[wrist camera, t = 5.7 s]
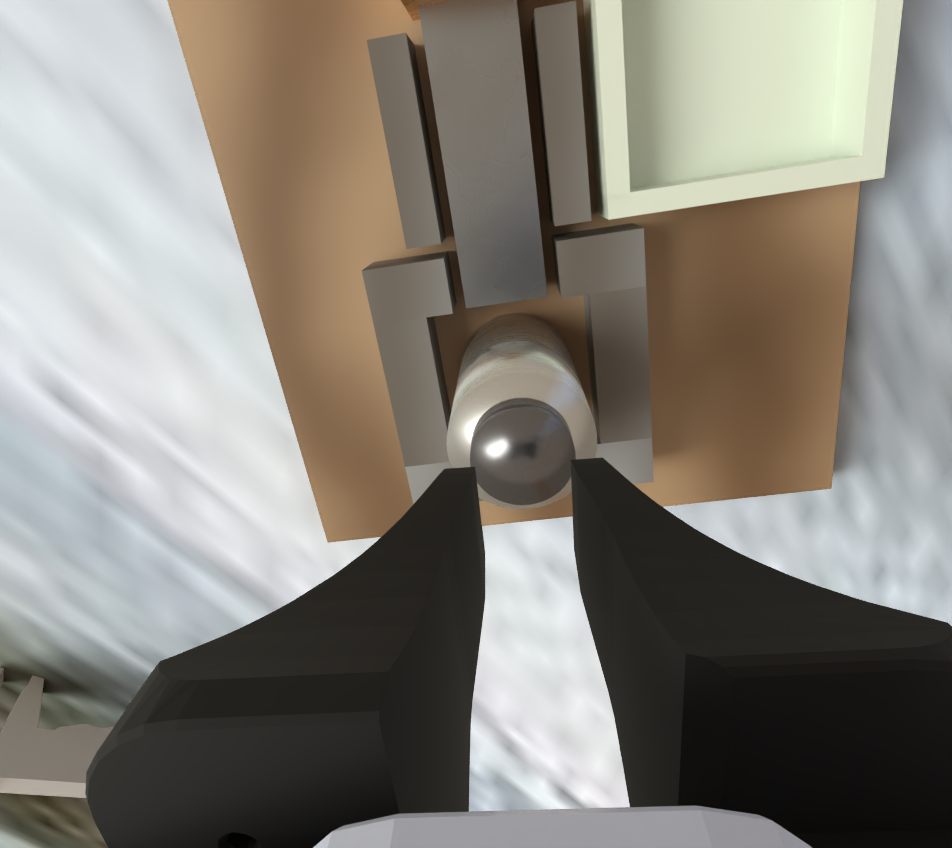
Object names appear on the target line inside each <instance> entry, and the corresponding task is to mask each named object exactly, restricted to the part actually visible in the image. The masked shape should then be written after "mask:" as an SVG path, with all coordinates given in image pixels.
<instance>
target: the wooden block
mask: <svg viewBox="0 0 952 848" xmlns="http://www.w3.org/2000/svg"><path fill="white" fill-rule="evenodd" d="M517 1H521V0H401V2H402V3H403V5H404V7H405V8H406V10H407V12H408V13H409V15H410V17H411V18H412V20H413V21H416V20H420V21H421V27H422V33H423V40H424V46H425V52H426V59H427V65H428V71H429V78H430V84H431V90H432V97H433V103H434V109H435V116H436V122H437V128H438V135H439V141H440V147H441V153H442V160H443V166H444V172H445V179H446V185H447V191H448V198H449V204H450V210H451V217H452V223H453V229H454V236H455V242H456V248H457V255H458V261H459V267H460V273H461V280H462V286H463V292H464V299H465V305H466V308H473V307H480V306H487V305H494V304H501V303H508V302H515V301H522V300H529V299H536V298H543V297H547V287H546V278H545V268H544V259H543V249H542V239H541V230H540V220H539V210H538V201H537V191H536V181H535V172H534V162H533V152H532V143H531V133H530V123H529V114H528V104H527V95H526V85H525V75H524V66H523V56H522V46H521V37H520V27H519V17H518V8H517Z"/></svg>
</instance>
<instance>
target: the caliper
mask: <svg viewBox="0 0 952 848" xmlns="http://www.w3.org/2000/svg"><path fill="white" fill-rule="evenodd" d="M3 677H4V668H0V686H1V685H2V683H3ZM43 684H44V679H43V678H40V677H37V676H32V677H31V679H30V682H29V684H28V686H26V687H24V689H23V690H22V692H21V694H20V696H19V697H18V699H17V701H16V703H15V705H14V707H13V709H12V710H11V712H10V714H9V716H8V718H7V720H6V724H5V727H4V728H3V729H2V731H1V732H0V793H15V794H31V795H48V796H64V797H80V798H86V794H85V790H86V772H87V770H88V768H89V766H90V764H91V762H92V760H93V758H94V756H95V754H96V752H97V751H98V749H99V748H100V747H101V745H102V744H103V742H104V741H105V739H106V738H107V736H108V735H109V733H110V732H111V731H112V729H113V728H114V727H106V728H96V727H94V726H92V725H88V724H79V725H72V726H64V727H58V728H57V729H56V730H49V729H41V728H38V725H39V717H40V710H41V702H42V694H43Z"/></svg>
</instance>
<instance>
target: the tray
mask: <svg viewBox="0 0 952 848" xmlns="http://www.w3.org/2000/svg"><path fill="white" fill-rule="evenodd" d="M583 5H584V20H585V35H586V50H587V64H588V79H589V94H590V109H591V124H592V139H593V154H594V169H595V184H596V198H597V213H598V215H600V216H602V217H604V218H606V219H608V220H610V219H617V218H623V217H630V216H636V215H643V214H649V213H656V212H663V211H669V210H676V209H682V208H689V207H695V206H702V205H708V204H715V203H721V202H728V201H734V200H741V199H747V198H754V197H760V196H767V195H774V194H780V193H787V192H793V191H800V190H806V189H813V188H819V187H826V186H832V185H839V184H845V183H852V182H858V181H865V180H872V179H878V178H884V173H885V164H886V155H887V146H888V137H889V127H890V118H891V109H892V100H893V91H894V81H895V72H896V63H897V54H898V45H899V35H900V26H901V17H902V8H903V0H583Z"/></svg>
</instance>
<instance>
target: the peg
mask: <svg viewBox="0 0 952 848" xmlns="http://www.w3.org/2000/svg"><path fill="white" fill-rule="evenodd" d="M446 445H447V453H448V457H449V461H450V464H451V466H452V468H462V467H475V469H476V478H477V487H478V496H479V498H481V499H482V500H484V501H486V502H489V503H491V504H493V505H497V506H500V507H505V508H510V509H532V508H538V507H542V506H545V505H549V504H551V503H553V502H556V501H558V500H560V499H561V498H563V497H565V496H566V495H568V494H569V493H571V492H572V483H571V460H575V459H589V458H595V455H596V449H597V431H596V426H595V422H594V419H593V416H592V413H591V411H590V408H589V405H588V403H587V400H586V397H585V394H584V392H583V389H582V386H581V383H580V381H579V378H578V375H577V373H576V370H575V367H574V364H573V362H572V359H571V356H570V353H569V351H568V348H567V346H566V343H565V341H564V340H563V338H562V336H561V335H560V334H559V333H558V331H557V330H556V329H555V328H554V327H553V326H551V325H550V324H549V323H547V322H546V321H544V320H542V319H540V318H538V317H535V316H532V315H528V314H519V313H514V314H506V315H501V316H498V317H496V318H493V319H491V320H489V321H487V322H486V323H484V324H483V325H482V326H481V327H479V328H478V329H477V330H476V331H475V332H474V334H473V335H472V336H471V338H470V339H469V341H468V343H467V345H466V347H465V350H464V353H463V357H462V362H461V367H460V372H459V376H458V381H457V386H456V391H455V396H454V401H453V406H452V411H451V416H450V421H449V426H448V431H447V444H446Z"/></svg>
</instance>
